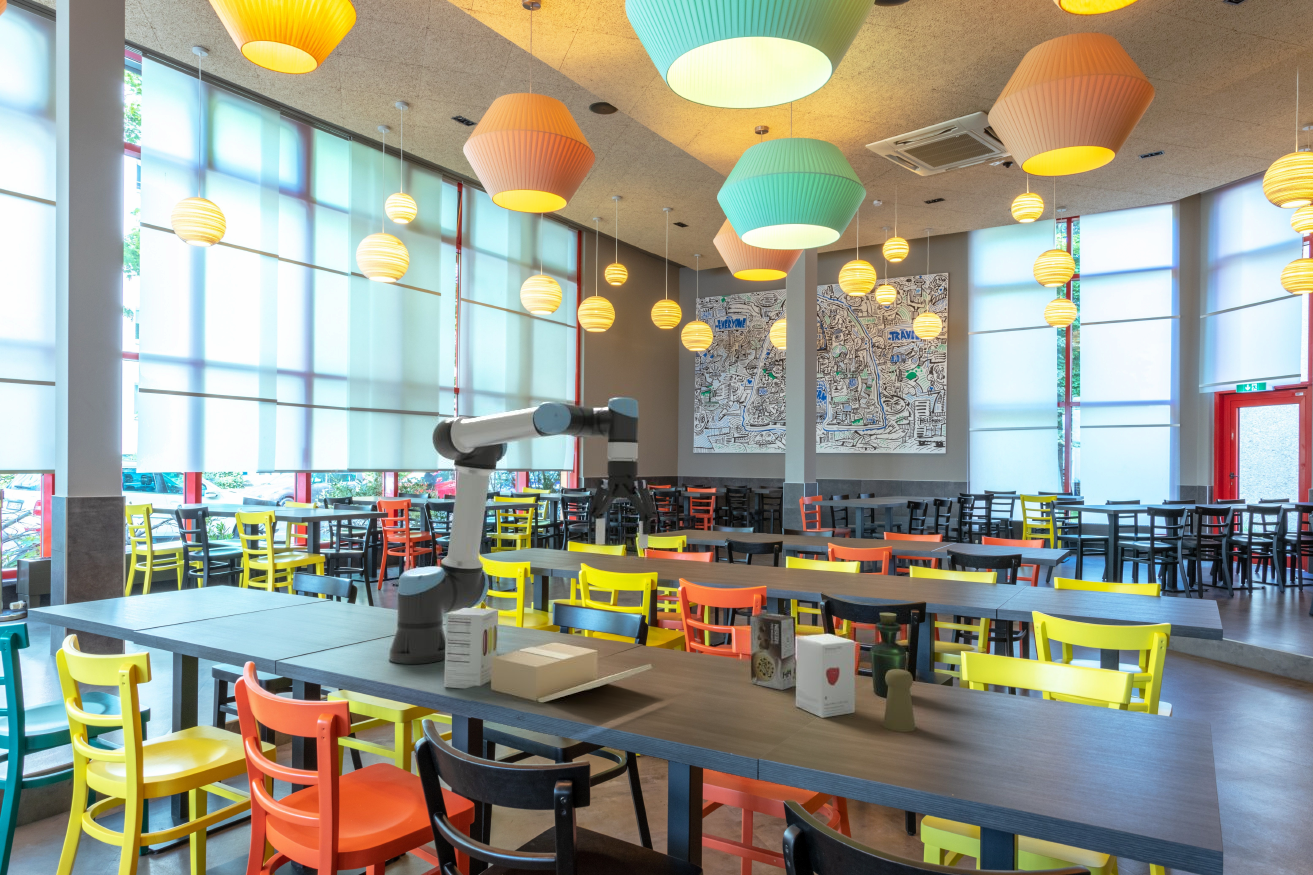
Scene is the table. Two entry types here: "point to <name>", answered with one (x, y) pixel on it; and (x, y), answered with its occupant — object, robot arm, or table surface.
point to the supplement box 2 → (825, 675)
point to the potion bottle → (886, 653)
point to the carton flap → (595, 683)
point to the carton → (543, 670)
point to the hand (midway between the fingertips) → (621, 546)
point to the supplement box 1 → (470, 646)
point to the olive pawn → (899, 701)
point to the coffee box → (773, 650)
